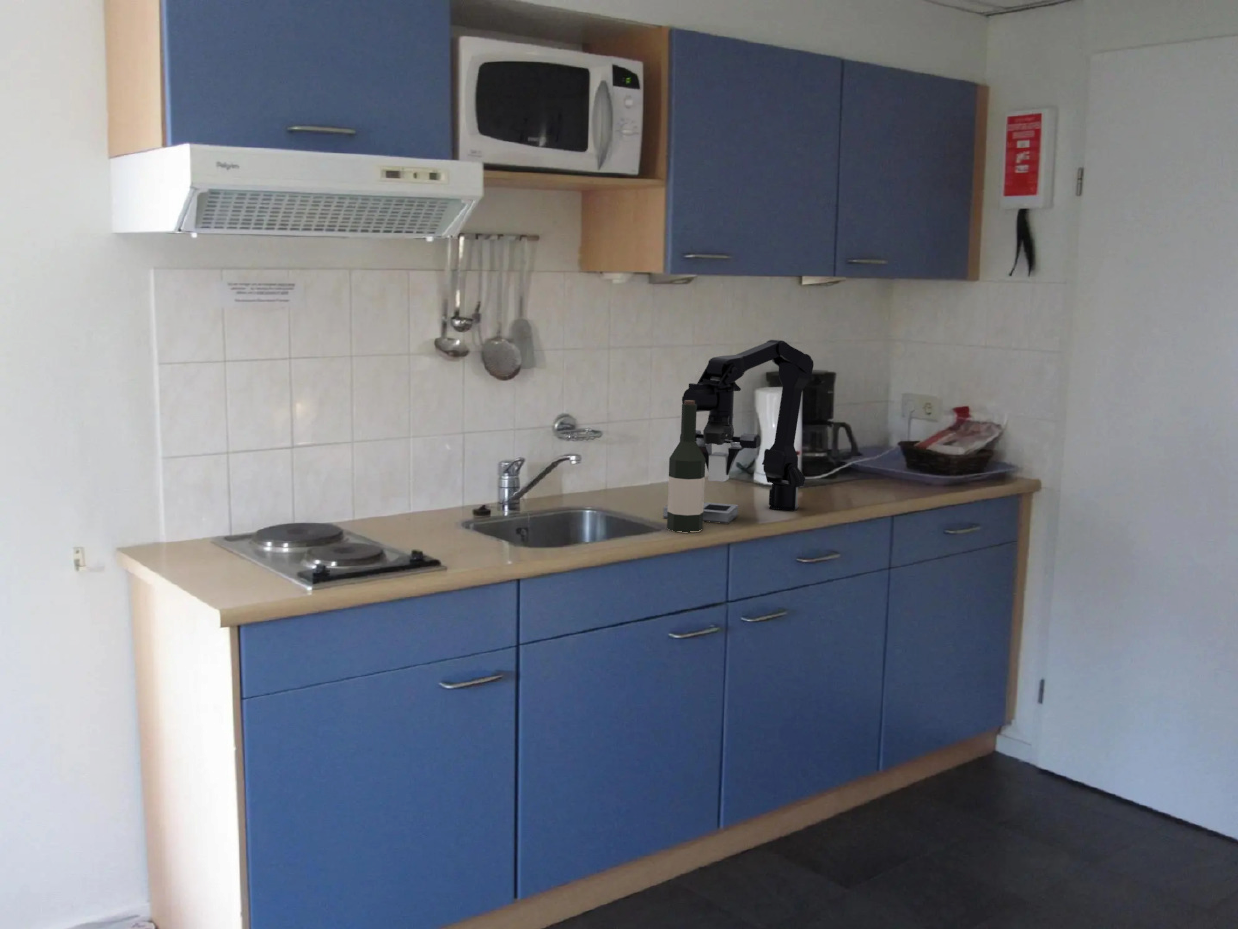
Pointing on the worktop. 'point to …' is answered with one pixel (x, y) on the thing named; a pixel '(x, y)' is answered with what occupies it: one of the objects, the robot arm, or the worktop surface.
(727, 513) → the socket plate
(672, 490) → the wine bottle
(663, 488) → the worktop surface
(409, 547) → the worktop surface
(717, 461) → the plug
